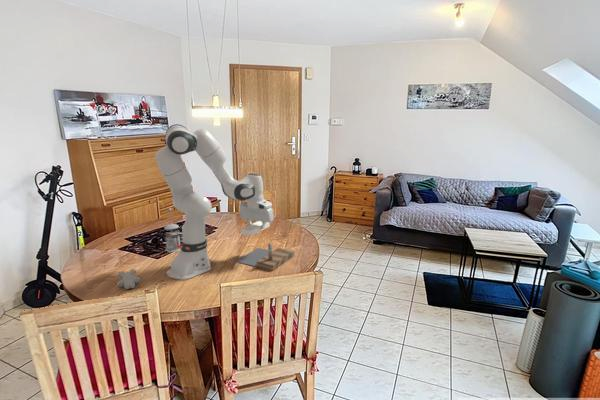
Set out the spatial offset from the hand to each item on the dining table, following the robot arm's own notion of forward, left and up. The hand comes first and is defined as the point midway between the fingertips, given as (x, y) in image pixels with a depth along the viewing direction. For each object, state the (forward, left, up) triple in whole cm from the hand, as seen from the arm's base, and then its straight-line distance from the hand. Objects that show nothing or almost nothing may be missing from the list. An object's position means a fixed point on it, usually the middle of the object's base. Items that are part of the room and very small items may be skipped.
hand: (257, 227), depth 187 cm
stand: (-1, -13, -17) cm, 21 cm away
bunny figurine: (-55, +34, -17) cm, 67 cm away
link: (-1, 0, -1) cm, 1 cm away
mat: (-1, 0, -17) cm, 17 cm away
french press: (-14, +49, -17) cm, 54 cm away
